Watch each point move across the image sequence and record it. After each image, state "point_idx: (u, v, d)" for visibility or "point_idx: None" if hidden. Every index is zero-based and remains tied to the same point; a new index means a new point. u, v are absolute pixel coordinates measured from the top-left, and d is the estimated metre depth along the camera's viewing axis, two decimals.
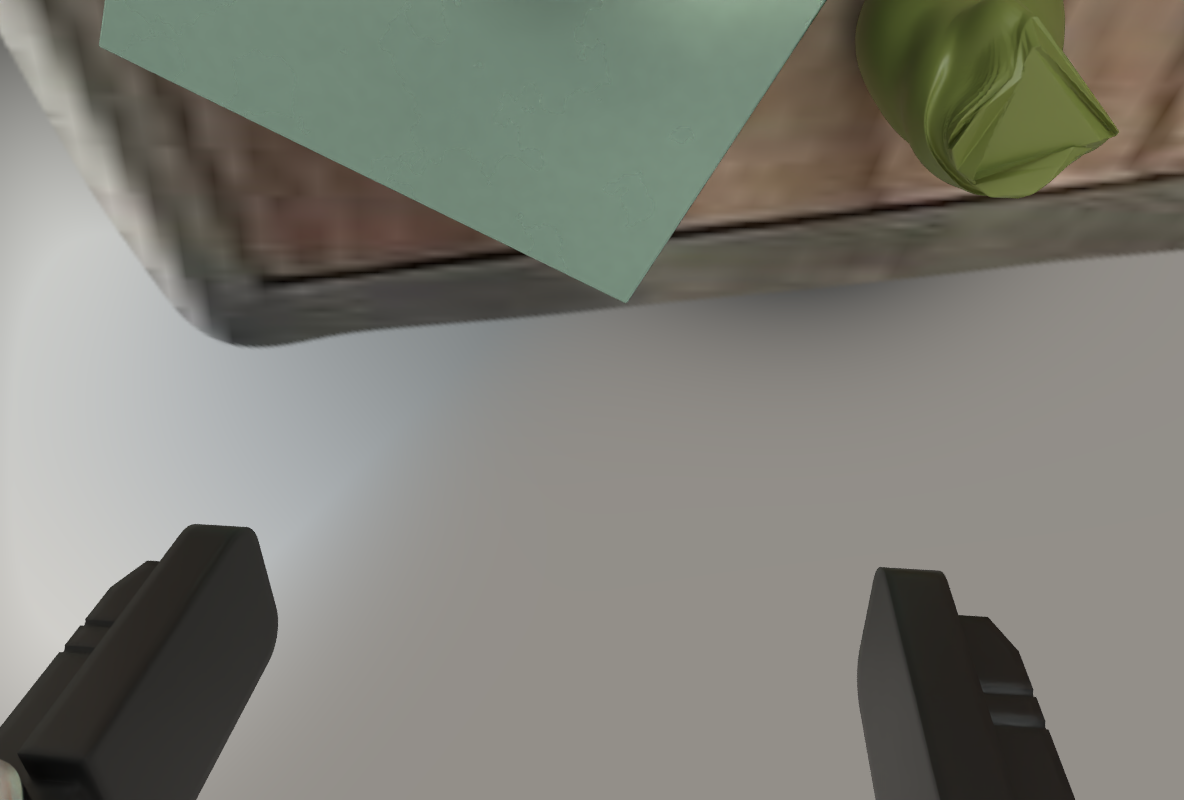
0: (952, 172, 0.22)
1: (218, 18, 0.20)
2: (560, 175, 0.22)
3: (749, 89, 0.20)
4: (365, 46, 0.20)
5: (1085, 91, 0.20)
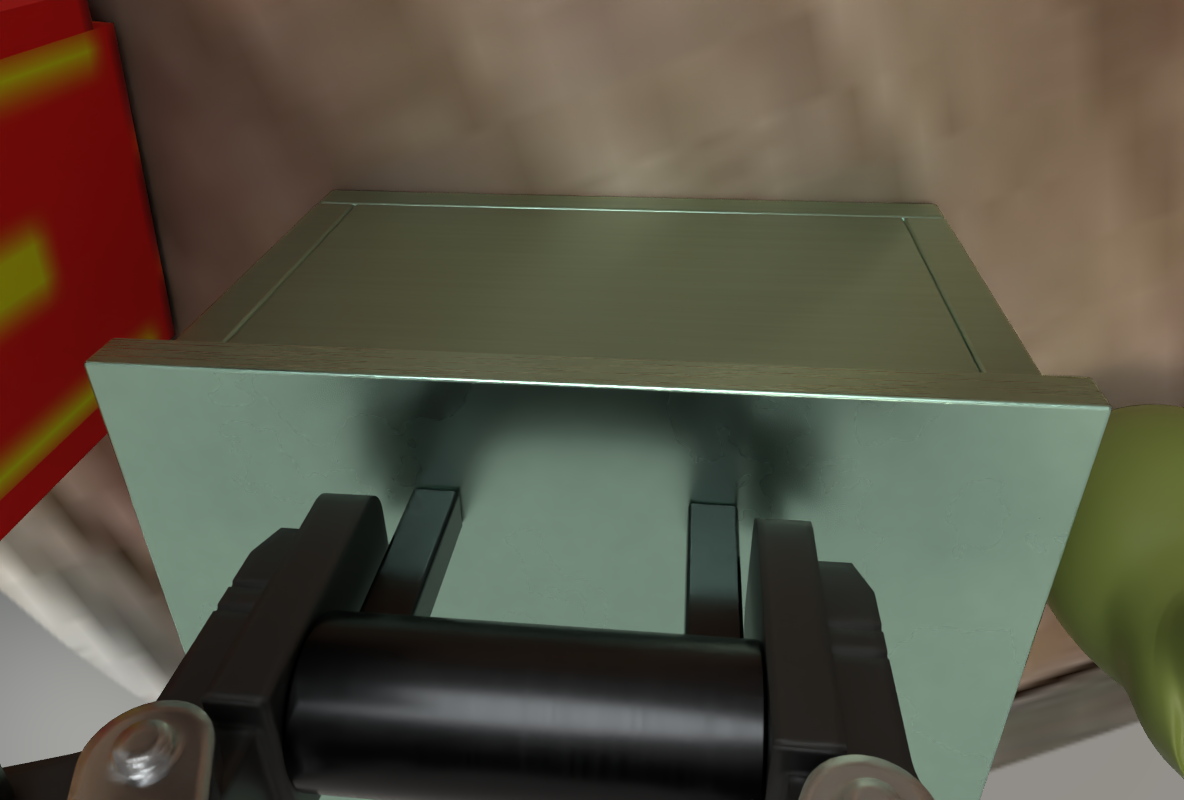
0: None
1: None
2: None
3: None
4: None
5: None
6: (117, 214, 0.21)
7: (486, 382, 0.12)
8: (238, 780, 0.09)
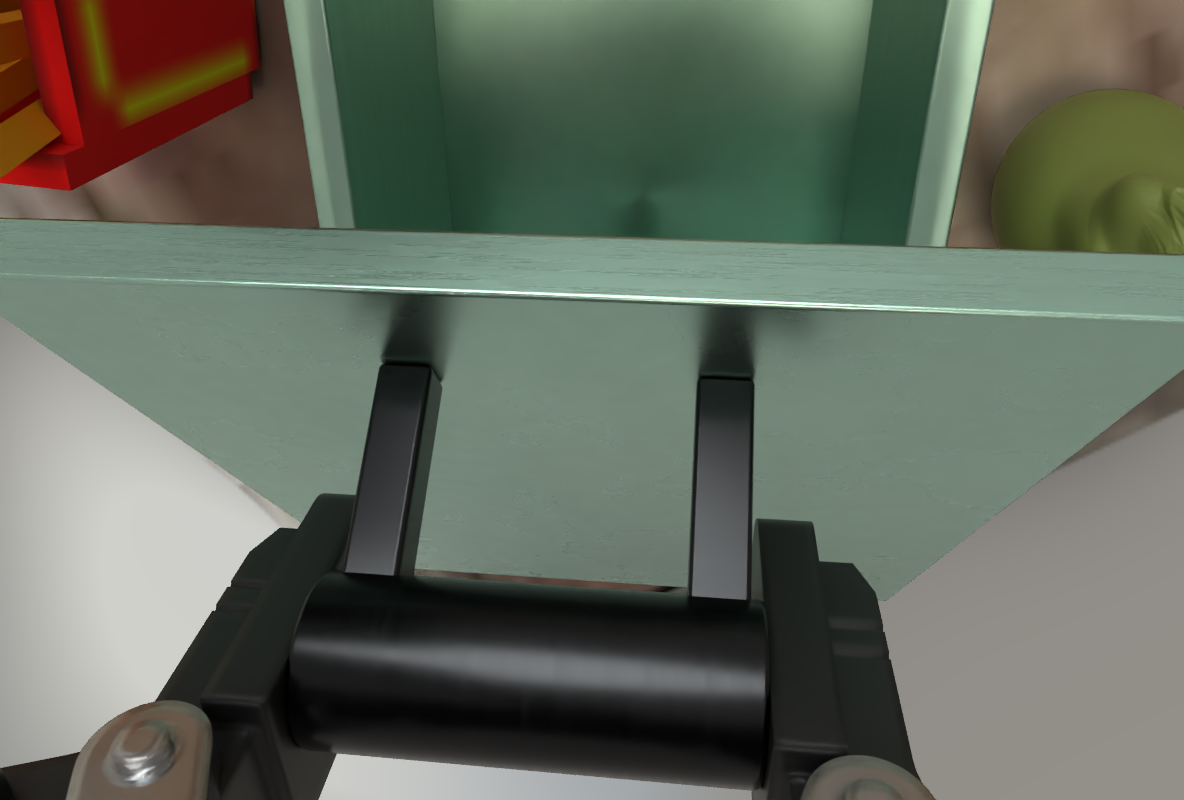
0: None
1: (431, 554, 0.23)
2: None
3: (942, 542, 0.17)
4: (552, 553, 0.21)
5: None
6: None
7: (440, 291, 0.10)
8: (237, 780, 0.09)
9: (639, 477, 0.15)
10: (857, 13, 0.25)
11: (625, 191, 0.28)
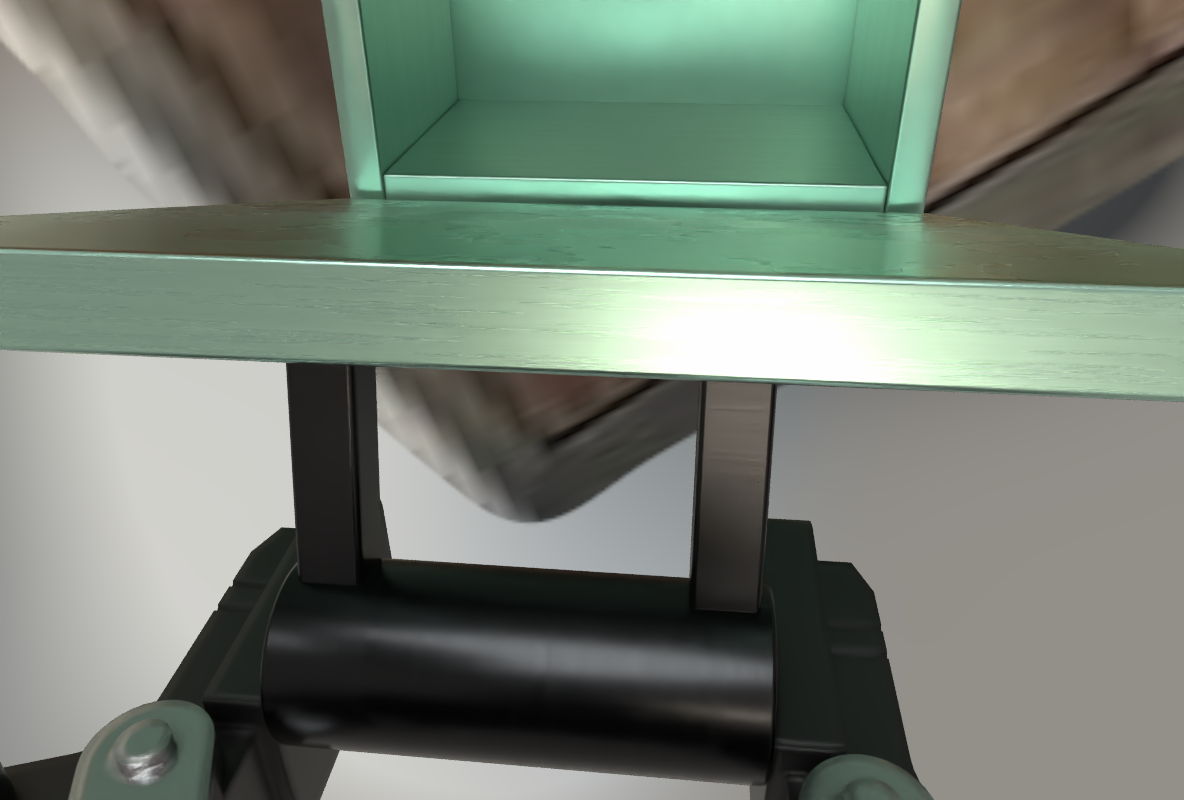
0: None
1: None
2: None
3: None
4: None
5: None
6: None
7: (332, 355, 0.07)
8: (239, 780, 0.09)
9: None
10: None
11: None
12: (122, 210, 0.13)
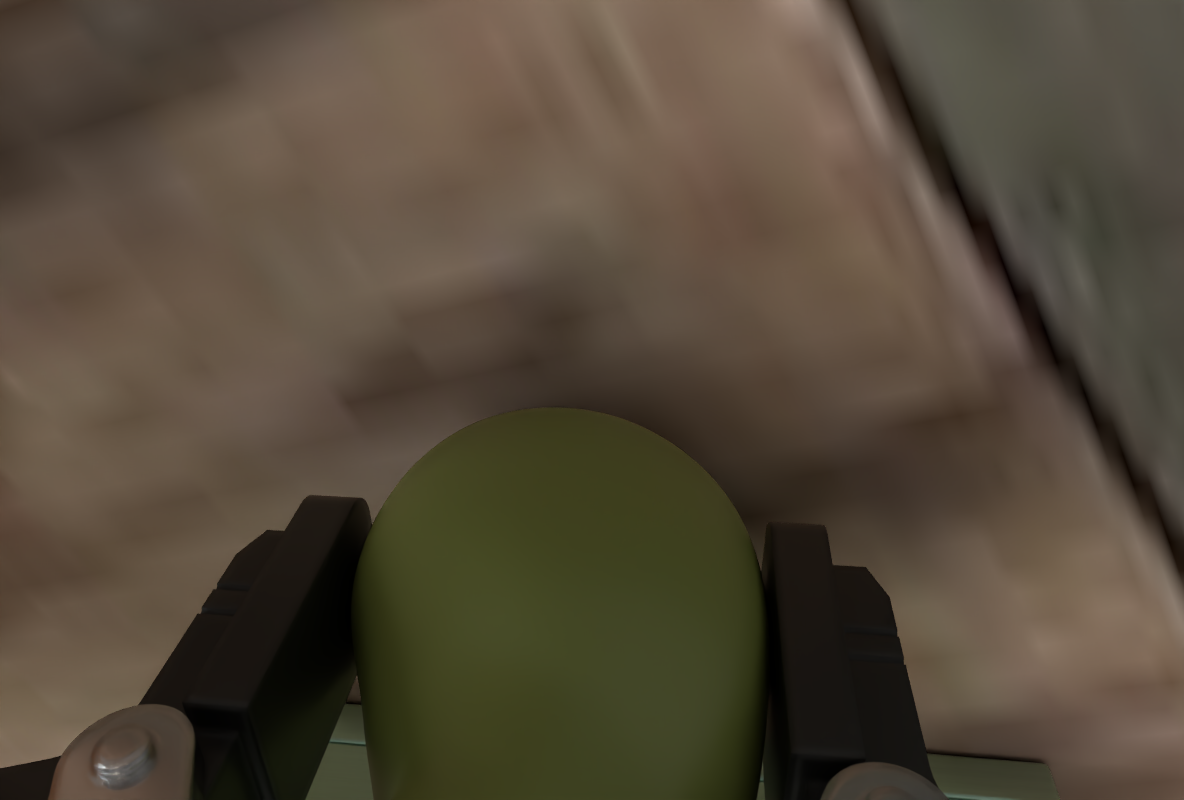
0: None
1: None
2: None
3: None
4: None
5: None
6: None
7: None
8: (220, 784, 0.09)
9: None
10: None
11: None
12: None
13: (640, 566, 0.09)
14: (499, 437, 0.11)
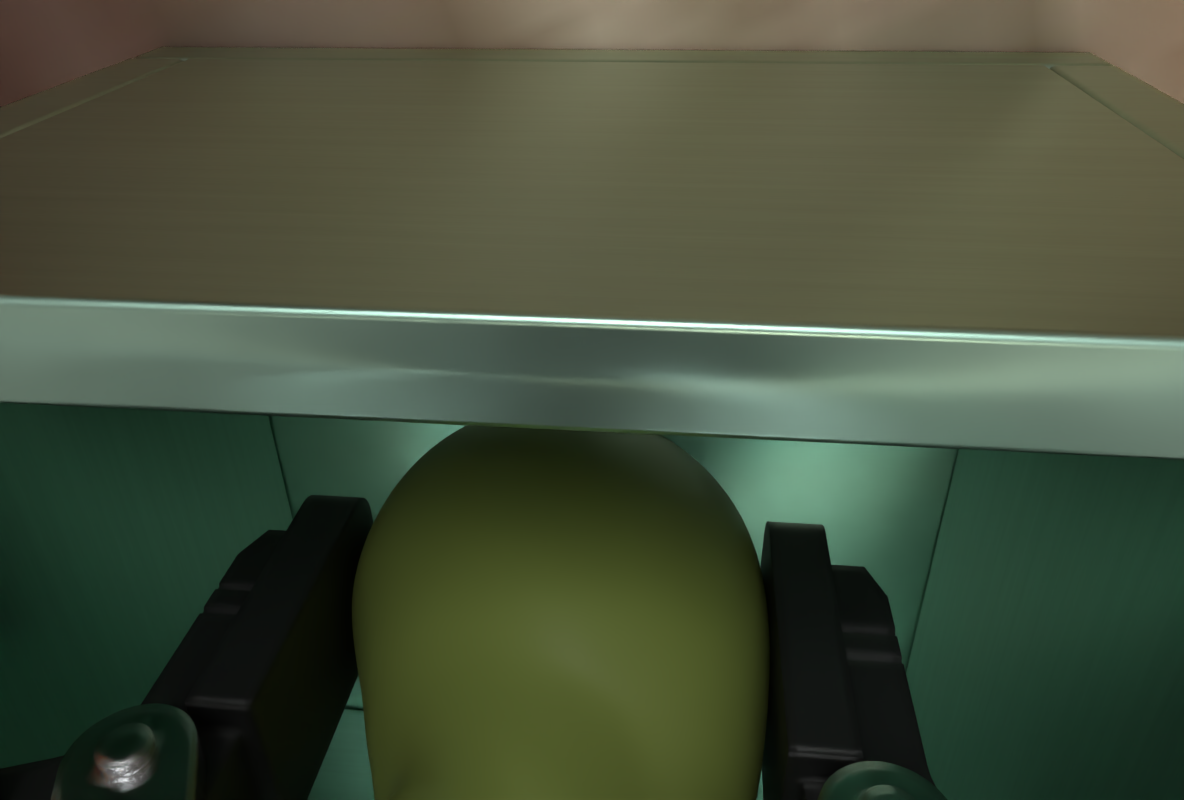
0: None
1: None
2: None
3: None
4: None
5: None
6: None
7: None
8: (222, 784, 0.09)
9: None
10: None
11: None
12: None
13: (639, 563, 0.09)
14: (499, 436, 0.11)
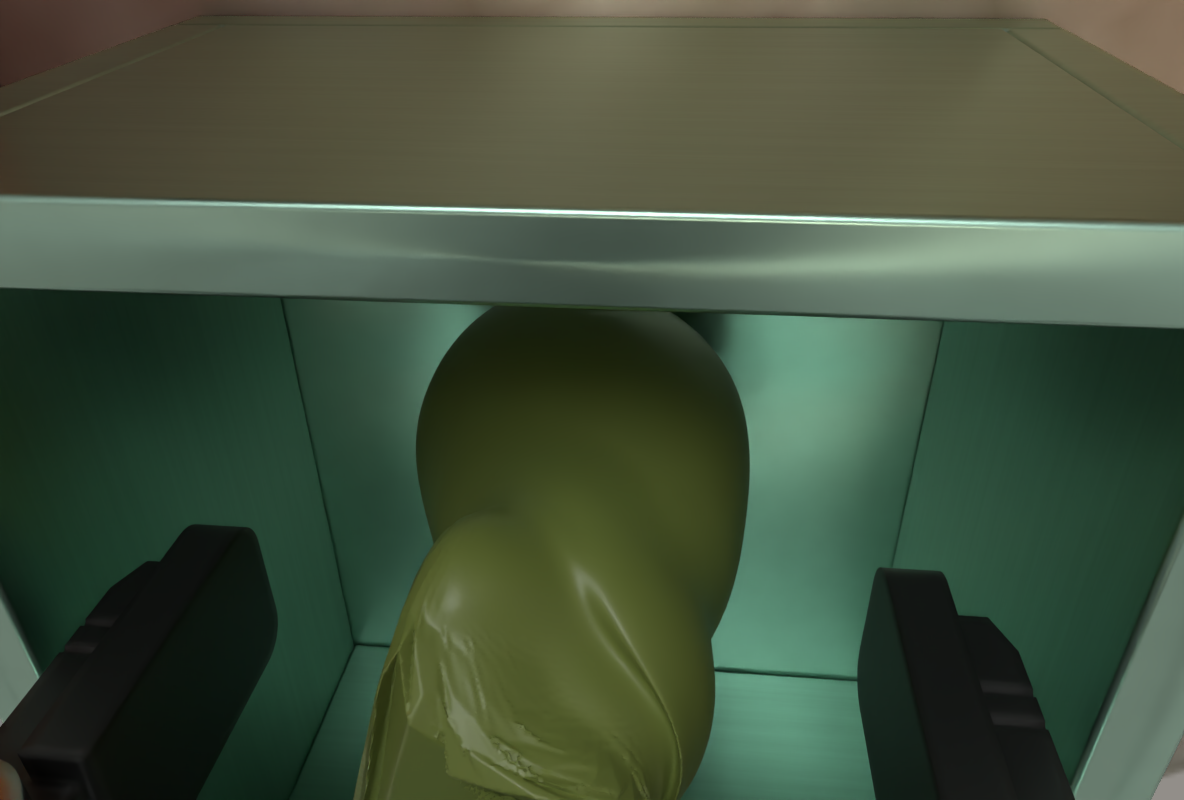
0: None
1: None
2: None
3: None
4: None
5: (366, 763, 0.09)
6: None
7: None
8: None
9: None
10: None
11: None
12: None
13: (649, 374, 0.12)
14: None
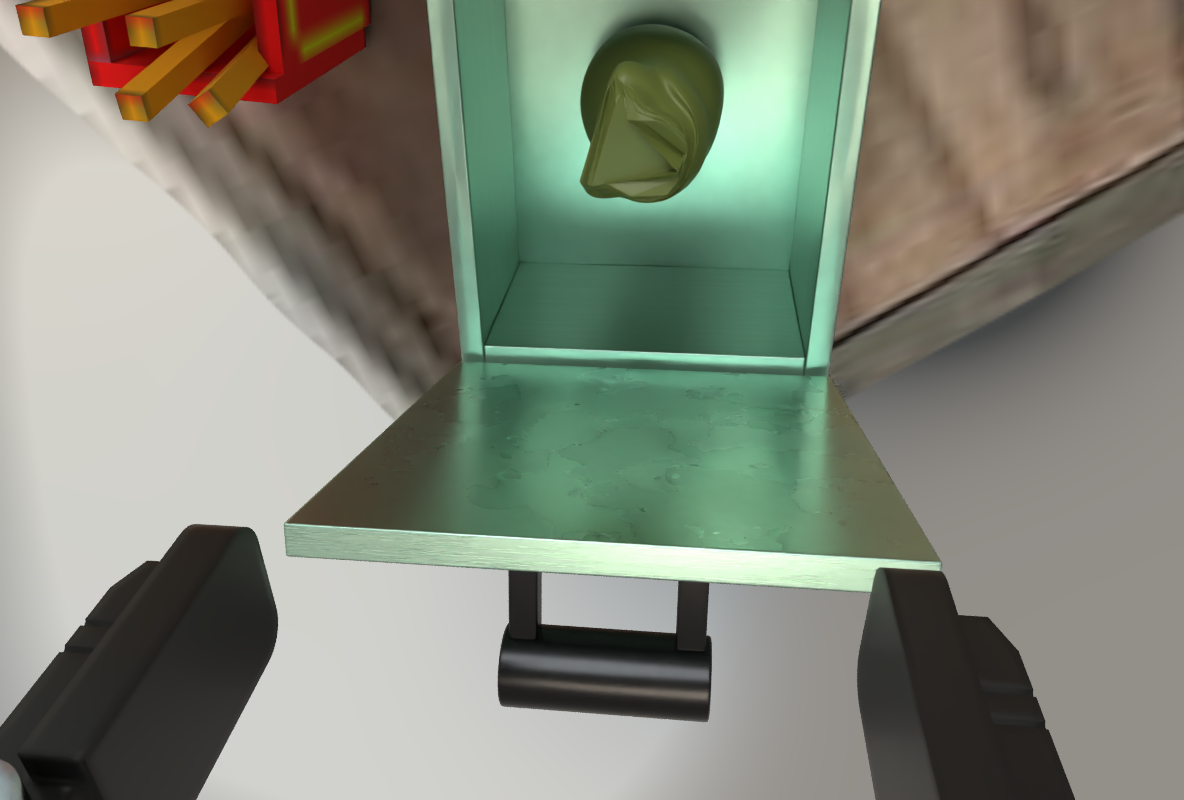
0: (691, 157, 0.29)
1: None
2: None
3: None
4: None
5: (596, 132, 0.29)
6: None
7: (547, 569, 0.19)
8: None
9: None
10: None
11: None
12: (385, 434, 0.26)
13: (684, 39, 0.32)
14: (635, 26, 0.33)
